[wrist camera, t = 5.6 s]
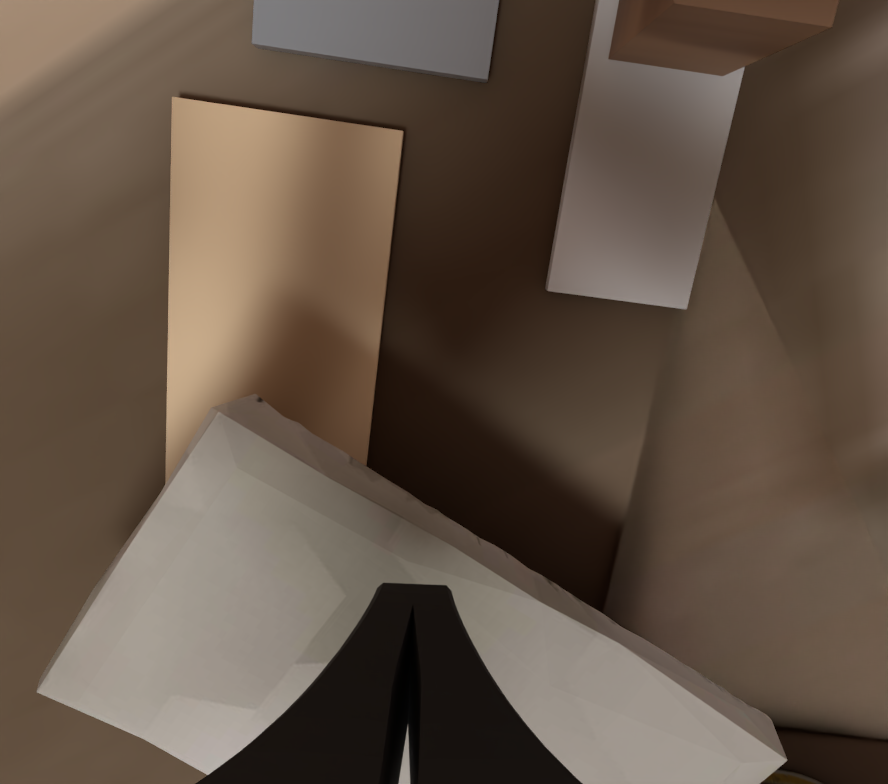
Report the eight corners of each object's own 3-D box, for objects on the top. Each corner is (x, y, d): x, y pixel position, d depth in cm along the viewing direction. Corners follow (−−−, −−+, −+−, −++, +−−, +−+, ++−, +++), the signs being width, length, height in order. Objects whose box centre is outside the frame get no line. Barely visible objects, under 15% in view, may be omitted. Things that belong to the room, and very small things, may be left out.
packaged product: (267, 342, 18) (107, 588, 21) (212, 396, 14) (15, 705, 16) (727, 641, 22) (545, 821, 24) (806, 765, 17) (571, 972, 20)
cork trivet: (404, 132, 17) (403, 131, 17) (339, 708, 23) (337, 717, 22) (178, 99, 17) (171, 96, 17) (166, 689, 22) (161, 698, 22)
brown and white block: (606, -71, 16) (685, -200, 11) (761, -46, 16) (911, -162, 11) (544, 288, 19) (583, 321, 13) (679, 306, 19) (769, 345, 14)
